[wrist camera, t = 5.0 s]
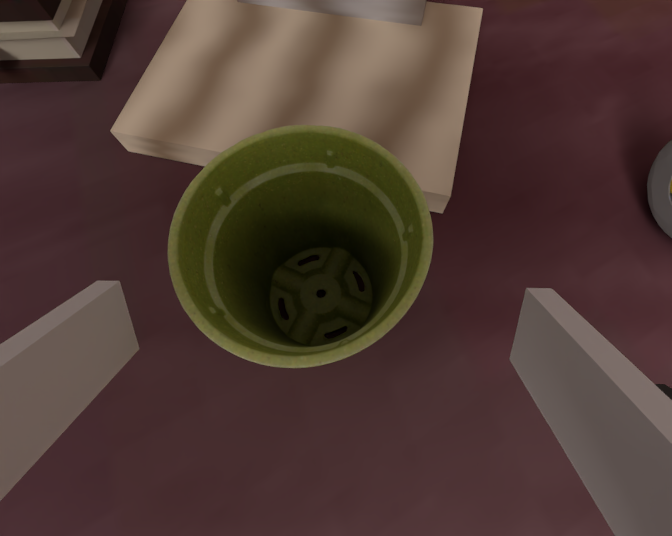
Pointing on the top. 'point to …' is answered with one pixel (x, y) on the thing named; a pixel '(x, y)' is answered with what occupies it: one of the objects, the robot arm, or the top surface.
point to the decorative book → (56, 39)
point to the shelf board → (310, 79)
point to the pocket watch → (661, 189)
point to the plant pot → (300, 245)
